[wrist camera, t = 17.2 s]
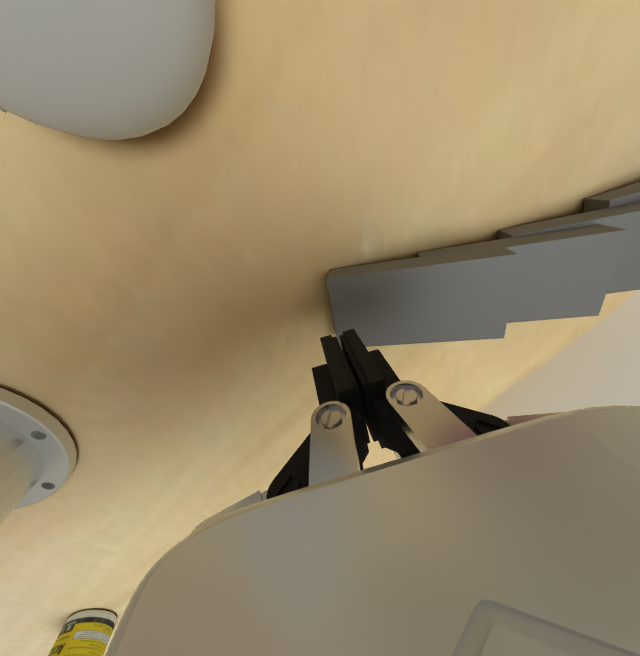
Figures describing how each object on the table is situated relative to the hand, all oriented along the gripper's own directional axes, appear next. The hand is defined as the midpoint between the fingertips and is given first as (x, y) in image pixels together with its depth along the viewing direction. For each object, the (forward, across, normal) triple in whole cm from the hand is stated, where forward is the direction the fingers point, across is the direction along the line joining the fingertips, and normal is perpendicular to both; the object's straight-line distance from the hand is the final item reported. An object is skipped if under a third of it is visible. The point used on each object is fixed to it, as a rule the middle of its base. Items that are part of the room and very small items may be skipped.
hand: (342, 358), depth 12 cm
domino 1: (+6, -1, 0) cm, 6 cm away
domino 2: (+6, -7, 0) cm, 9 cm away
